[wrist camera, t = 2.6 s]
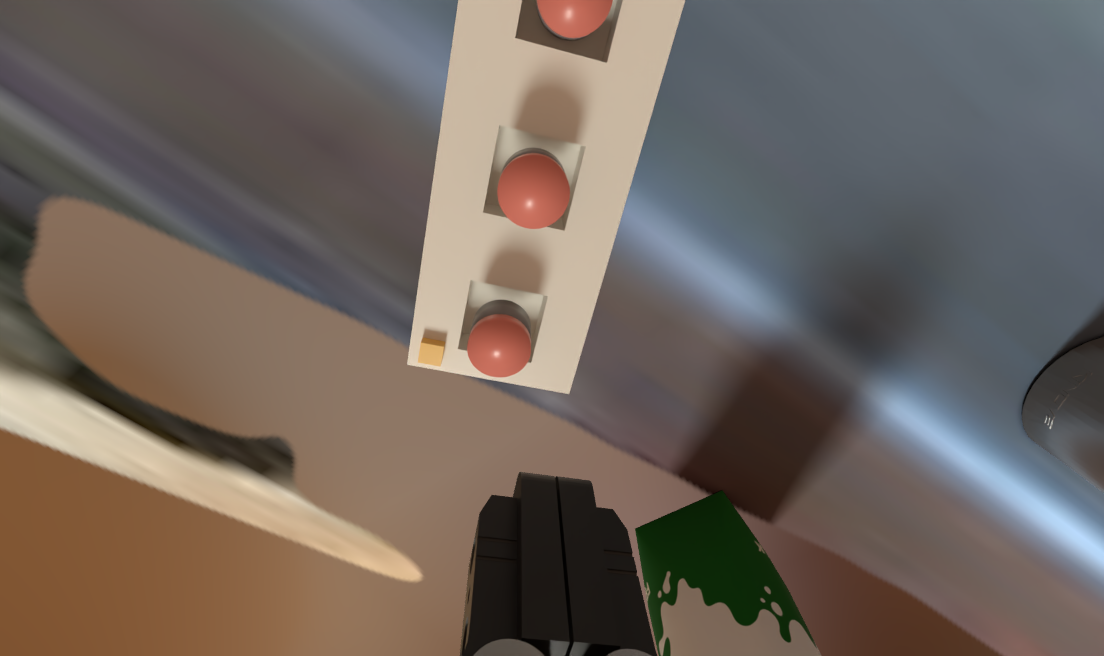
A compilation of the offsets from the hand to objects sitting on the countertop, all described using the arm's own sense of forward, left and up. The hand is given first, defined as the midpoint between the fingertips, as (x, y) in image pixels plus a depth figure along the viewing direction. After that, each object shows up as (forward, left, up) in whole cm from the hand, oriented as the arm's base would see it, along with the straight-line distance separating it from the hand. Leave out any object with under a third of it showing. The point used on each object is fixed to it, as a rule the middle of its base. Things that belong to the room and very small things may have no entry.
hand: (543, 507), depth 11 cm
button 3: (+1, +4, -16) cm, 17 cm away
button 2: (+1, -4, -16) cm, 17 cm away
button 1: (+1, -11, -19) cm, 22 cm away
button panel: (+1, -6, -21) cm, 22 cm away
